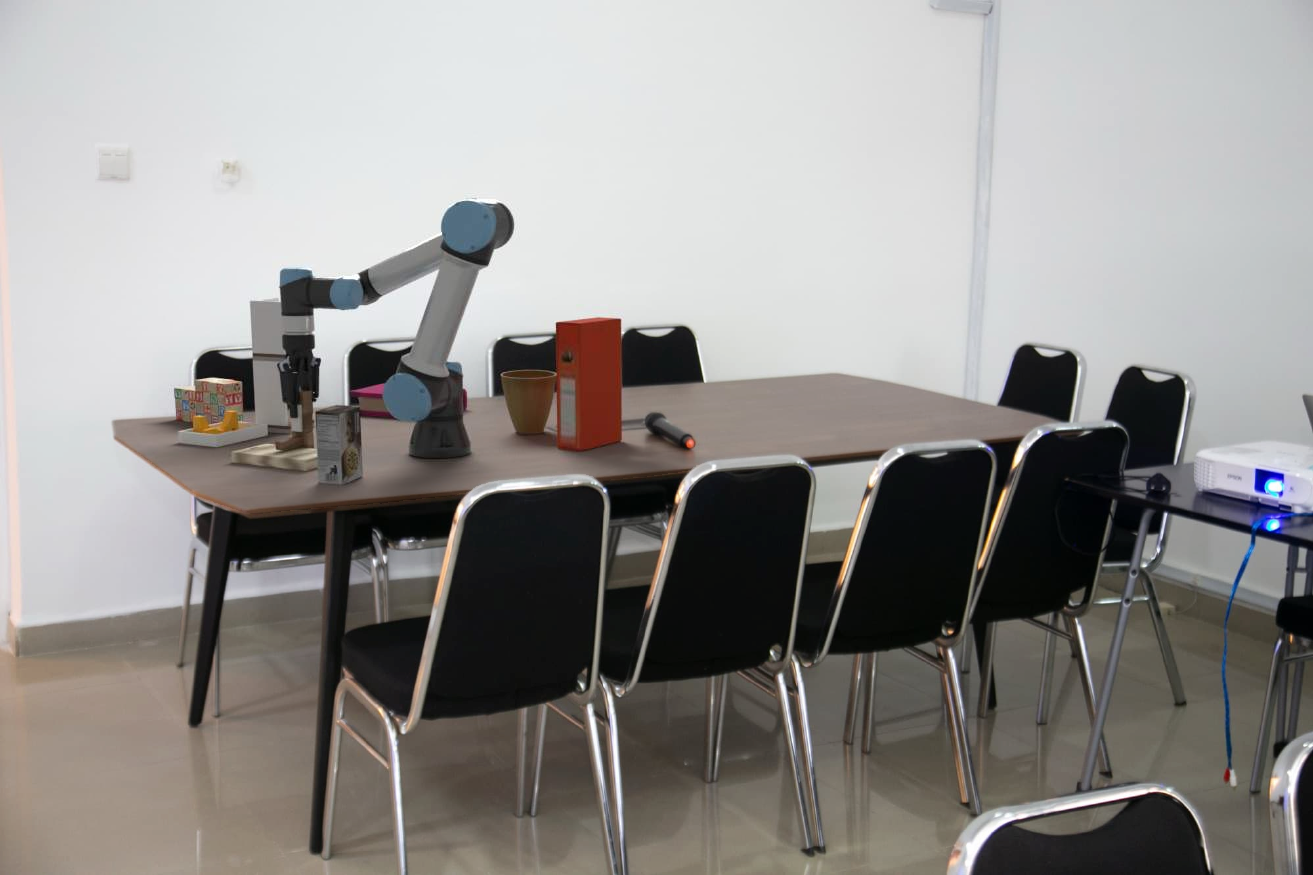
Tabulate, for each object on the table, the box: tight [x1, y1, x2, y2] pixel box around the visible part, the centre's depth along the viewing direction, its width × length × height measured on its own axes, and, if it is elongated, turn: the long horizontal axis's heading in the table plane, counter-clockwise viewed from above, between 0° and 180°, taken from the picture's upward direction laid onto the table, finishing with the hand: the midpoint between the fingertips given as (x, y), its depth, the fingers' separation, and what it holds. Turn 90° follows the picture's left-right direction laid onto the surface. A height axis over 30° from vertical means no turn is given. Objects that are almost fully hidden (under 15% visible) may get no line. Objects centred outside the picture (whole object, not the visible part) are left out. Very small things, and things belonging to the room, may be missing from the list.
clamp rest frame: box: [177, 421, 269, 448], centre depth 331 cm, size 13×19×3 cm
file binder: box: [555, 316, 623, 452], centre depth 325 cm, size 8×17×32 cm, turn 146°
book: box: [349, 383, 468, 418], centre depth 376 cm, size 21×28×8 cm
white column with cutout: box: [249, 297, 316, 435], centre depth 343 cm, size 11×11×35 cm
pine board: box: [230, 443, 318, 472], centre depth 303 cm, size 22×12×3 cm, turn 65°
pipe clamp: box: [192, 410, 238, 435], centre depth 332 cm, size 12×4×6 cm, turn 147°
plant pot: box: [500, 369, 557, 435], centre depth 343 cm, size 15×15×16 cm
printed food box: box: [314, 404, 364, 486], centre depth 283 cm, size 9×6×16 cm
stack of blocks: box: [173, 377, 244, 425], centre depth 355 cm, size 21×6×12 cm, turn 58°
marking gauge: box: [274, 389, 315, 450], centre depth 305 cm, size 5×10×16 cm, turn 155°
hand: (302, 429), depth 308 cm, fingers closed on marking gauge, 3 cm apart
